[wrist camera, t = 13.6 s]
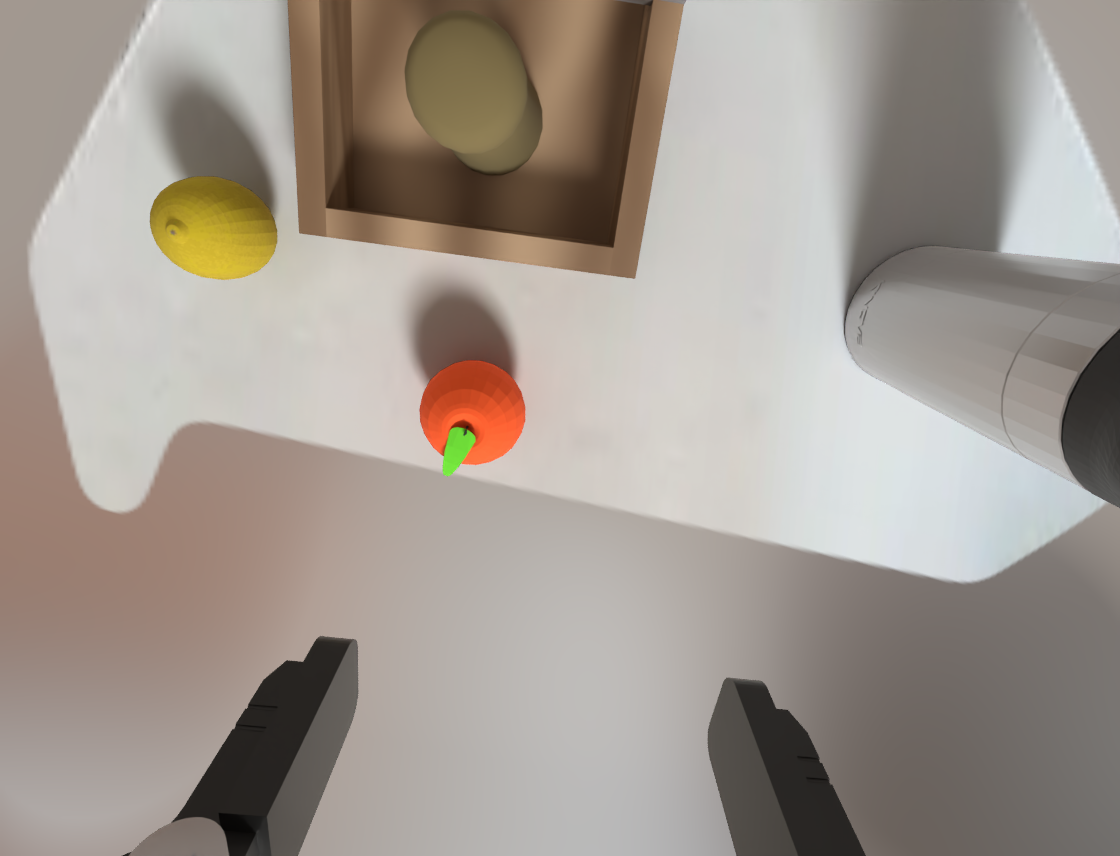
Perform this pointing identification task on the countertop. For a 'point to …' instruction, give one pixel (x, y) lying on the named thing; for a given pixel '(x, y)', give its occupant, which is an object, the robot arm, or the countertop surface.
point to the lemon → (213, 227)
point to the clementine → (472, 413)
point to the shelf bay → (434, 171)
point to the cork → (473, 92)
